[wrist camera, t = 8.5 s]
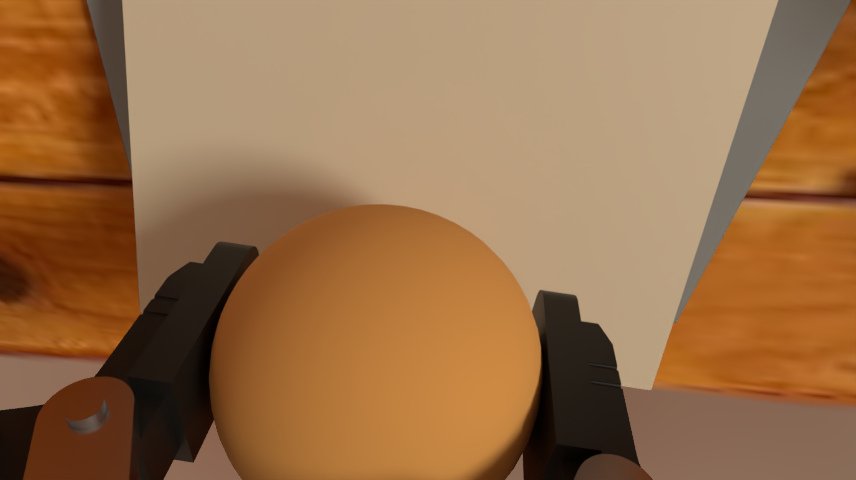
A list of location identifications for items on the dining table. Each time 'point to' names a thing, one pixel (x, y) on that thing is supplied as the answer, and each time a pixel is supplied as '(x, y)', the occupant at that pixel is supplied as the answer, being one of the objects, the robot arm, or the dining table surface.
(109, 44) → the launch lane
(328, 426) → the rubber ball
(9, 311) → the dining table surface
